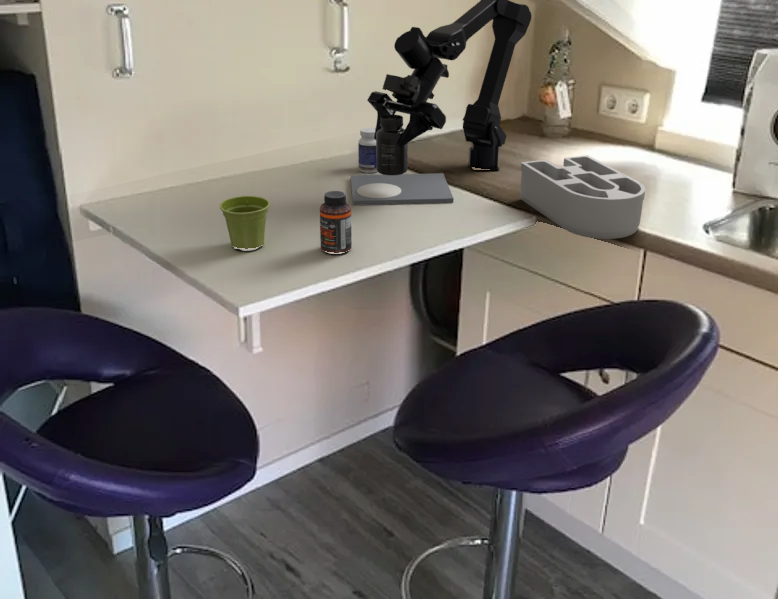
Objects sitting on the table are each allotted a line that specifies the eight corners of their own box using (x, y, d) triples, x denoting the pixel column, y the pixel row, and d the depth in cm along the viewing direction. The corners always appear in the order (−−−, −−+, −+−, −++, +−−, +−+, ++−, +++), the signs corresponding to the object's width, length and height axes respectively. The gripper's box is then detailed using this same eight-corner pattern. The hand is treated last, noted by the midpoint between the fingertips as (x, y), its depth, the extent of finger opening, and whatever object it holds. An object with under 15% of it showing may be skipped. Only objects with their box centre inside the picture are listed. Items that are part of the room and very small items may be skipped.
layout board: (443, 177, 205) (443, 172, 204) (453, 202, 189) (453, 197, 188) (350, 179, 204) (350, 174, 203) (353, 205, 187) (352, 199, 187)
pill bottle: (381, 173, 208) (381, 133, 203) (357, 173, 208) (357, 133, 203) (382, 166, 213) (382, 126, 208) (359, 166, 213) (358, 126, 208)
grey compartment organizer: (583, 192, 196) (587, 155, 192) (656, 235, 172) (662, 194, 169) (518, 200, 191) (520, 162, 187) (583, 245, 167) (588, 203, 164)
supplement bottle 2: (414, 171, 187) (414, 117, 182) (390, 178, 183) (390, 122, 178) (393, 164, 192) (392, 111, 186) (369, 171, 188) (369, 116, 182)
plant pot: (277, 252, 164) (274, 209, 160) (227, 258, 161) (224, 215, 157) (266, 235, 172) (264, 193, 168) (219, 240, 169) (215, 199, 165)
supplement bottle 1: (314, 252, 164) (312, 195, 159) (332, 241, 168) (330, 186, 163) (340, 258, 161) (338, 201, 156) (357, 248, 166) (356, 191, 161)
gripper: (372, 53, 185) (336, 113, 183) (438, 65, 174) (401, 129, 172) (397, 84, 194) (364, 142, 192) (461, 97, 182) (426, 159, 180)
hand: (387, 142), depth 184 cm, fingers closed on supplement bottle 2, 7 cm apart
